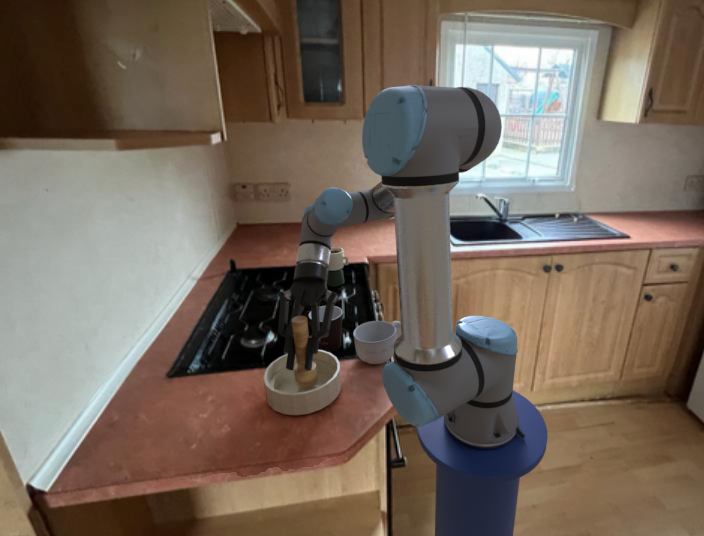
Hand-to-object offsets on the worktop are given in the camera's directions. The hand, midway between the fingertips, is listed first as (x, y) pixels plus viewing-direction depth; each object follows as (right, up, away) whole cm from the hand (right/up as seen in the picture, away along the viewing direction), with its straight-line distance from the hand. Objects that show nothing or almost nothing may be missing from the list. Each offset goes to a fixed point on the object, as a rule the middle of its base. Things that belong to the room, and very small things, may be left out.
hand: (298, 369), depth 87 cm
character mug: (-4, +14, +60) cm, 61 cm away
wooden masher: (0, -4, +6) cm, 7 cm away
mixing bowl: (0, -7, +6) cm, 9 cm away
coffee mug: (+1, 0, +24) cm, 24 cm away
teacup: (+16, -2, +19) cm, 25 cm away
